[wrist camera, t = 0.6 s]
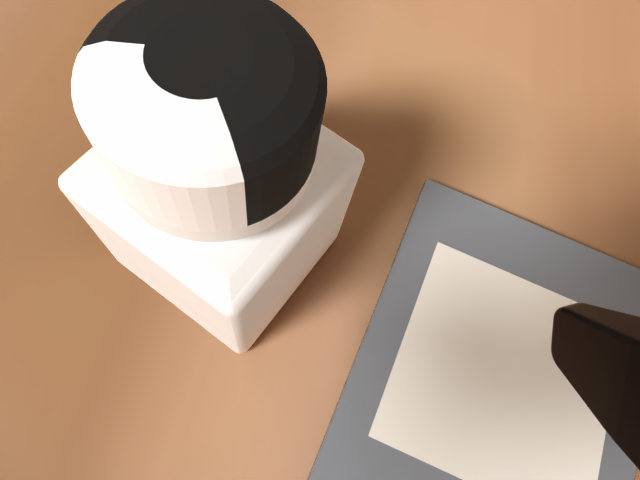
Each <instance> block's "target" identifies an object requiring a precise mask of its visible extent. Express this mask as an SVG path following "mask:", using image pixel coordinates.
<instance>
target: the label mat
mask: <svg viewBox="0 0 640 480" xmlns="http://www.w3.org/2000/svg"><path fill="white" fill-rule="evenodd" d="M574 303H586V304H591V305H595V306H599V307H603V308H607V309H611V310H615V311H619V312H623V313H627V314H631V315H635V316H639V317H640V269H639V268H636V267H634V266H632V265H629V264H627V263H625V262H622V261H620V260H618V259H615V258H613V257H611V256H608V255H606V254H604V253H601V252H599V251H596V250H594V249H592V248H589V247H587V246H585V245H582V244H580V243H578V242H575V241H573V240H571V239H568V238H566V237H564V236H561V235H559V234H557V233H554V232H552V231H550V230H547V229H545V228H543V227H540V226H538V225H535V224H533V223H531V222H528V221H526V220H524V219H521V218H519V217H517V216H514V215H512V214H510V213H507V212H505V211H503V210H500V209H498V208H496V207H493V206H491V205H489V204H486V203H484V202H482V201H479V200H477V199H474V198H472V197H470V196H467V195H465V194H463V193H460V192H458V191H456V190H453V189H451V188H449V187H446V186H444V185H442V184H439V183H437V182H435V181H432V180H430V179H428V178H427V180H426V181H425V183H424V185H423V187H422V190H421V192H420V195H419V197H418V200H417V203H416V205H415V208H414V210H413V213H412V215H411V218H410V220H409V223H408V225H407V228H406V231H405V233H404V236H403V238H402V241H401V243H400V246H399V248H398V251H397V253H396V256H395V258H394V261H393V264H392V266H391V269H390V271H389V274H388V276H387V279H386V281H385V284H384V286H383V289H382V292H381V294H380V297H379V299H378V302H377V304H376V307H375V309H374V312H373V314H372V317H371V320H370V322H369V325H368V327H367V330H366V332H365V335H364V337H363V340H362V342H361V345H360V347H359V350H358V353H357V355H356V358H355V360H354V363H353V365H352V368H351V370H350V373H349V375H348V378H347V381H346V383H345V386H344V388H343V391H342V393H341V396H340V398H339V401H338V403H337V406H336V408H335V411H334V414H333V416H332V419H331V421H330V424H329V426H328V429H327V431H326V434H325V436H324V439H323V442H322V444H321V447H320V449H319V452H318V454H317V457H316V459H315V462H314V464H313V467H312V469H311V472H310V475H309V477H308V480H635V473H636V466H635V465H634V464H633V462H632V461H631V460H630V459H629V458H628V457H627V456H626V455H625V453H624V452H623V451H622V450H621V449H620V448H619V446H618V445H617V444H616V443H615V442H614V441H613V439H612V438H611V437H610V435H609V434H608V433H607V432H606V430H605V429H604V428H603V427H602V425H601V424H600V423H599V421H598V420H597V419H596V417H595V416H594V415H593V413H592V412H591V411H590V409H589V408H588V407H587V405H586V404H585V403H584V401H583V400H582V399H581V397H580V396H579V395H578V393H577V392H576V391H575V389H574V388H573V387H572V385H571V384H570V383H569V381H568V380H567V379H566V377H565V376H564V375H563V373H562V372H561V371H560V369H559V368H558V367H557V365H556V363H555V362H554V360H553V357H552V354H551V340H552V328H553V317H554V313H555V312H556V310H557V309H558V308H560V307H563V306H567V305H571V304H574Z"/></svg>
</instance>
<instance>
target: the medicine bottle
mask: <svg viewBox="0 0 640 480" xmlns="http://www.w3.org/2000/svg"><path fill="white" fill-rule="evenodd" d="M71 93H72V101H73V105H74V110H75V113H76V115H77V118H78V120H79V122H80V125H81V127H82V129H83V130H84V132H85V134H86V135H87V137H88V139H89V141H90V142H91V144H92V146H93V147H92V148H91V149H90V150H89V151H87V152H86V153H85V154H84V155H83V156H82V157H81V158H79V159H78V160H77V161H76V162H75V163H74V164H73V165H71V166H70V167H69V168H68V169H67V170H66V171H65V172H64V173H62V174H61V176H60V177H59V179H58V185H59V188H60V189H61V191H62V192H63V193H64V195H65V196H66V197H67V198H68V200H69V201H70V202H71V203H72V205H73V206H74V207H75V208H76V210H77V211H78V212H79V213H80V214H81V216H82V217H83V218H84V219H85V221H86V222H87V223H88V224H89V226H90V227H91V228H92V229H93V231H94V232H95V233H96V234H97V236H98V237H99V238H100V239H101V241H102V242H103V243H104V244H105V246H106V247H107V248H108V249H109V251H110V252H111V253H112V254H113V255H114V257H115V258H116V259H117V260H118V261H119V262H120V263H121V264H122V265H124V266H125V267H126V268H128V269H129V270H130V271H131V272H133V273H134V274H135V275H137V276H138V277H139V278H140V279H142V280H143V281H144V282H146V283H147V284H148V285H149V286H151V287H152V288H153V289H155V290H156V291H157V292H158V293H160V294H161V295H162V296H164V297H165V298H166V299H167V300H169V301H170V302H171V303H173V304H174V305H175V306H176V307H178V308H179V309H180V310H182V311H183V312H184V313H185V314H187V315H188V316H189V317H191V318H192V319H193V320H194V321H196V322H197V323H198V324H200V325H201V326H202V327H204V328H205V329H206V330H207V331H209V332H210V333H211V334H213V335H214V336H215V337H216V338H218V339H219V340H220V341H222V342H223V343H224V344H225V345H227V346H228V347H229V348H231V349H232V350H233V351H234V352H236V353H239V354H242V353H245V352H246V351H248V350H249V348H250V347H251V346H252V345H253V343H254V342H255V341H256V340H257V338H258V337H259V336H260V334H261V333H262V332H263V331H264V329H265V328H266V327H267V326H268V324H269V323H270V322H271V320H272V319H273V318H274V317H275V315H276V314H277V313H278V312H279V310H280V309H281V308H282V306H283V305H284V304H285V303H286V301H287V300H288V299H289V298H290V296H291V295H292V294H293V292H294V291H295V290H296V289H297V287H298V286H299V285H300V284H301V282H302V281H303V280H304V278H305V277H306V276H307V275H308V273H309V272H310V271H311V270H312V268H313V267H314V266H315V264H316V263H317V262H318V261H319V259H320V258H321V257H322V256H323V254H324V253H325V252H326V250H327V249H328V248H329V247H330V245H331V244H332V243H333V242H334V240H335V239H336V238H337V236H338V233H339V231H340V228H341V225H342V222H343V220H344V217H345V214H346V211H347V208H348V206H349V203H350V200H351V197H352V195H353V192H354V189H355V186H356V184H357V181H358V178H359V175H360V173H361V170H362V167H363V164H364V162H365V159H364V154H363V152H362V151H361V150H360V149H358V148H357V147H355V146H354V145H352V144H351V143H349V142H348V141H346V140H345V139H343V138H342V137H340V136H339V135H337V134H336V133H334V132H333V131H331V130H330V129H328V128H327V127H325V126H324V125H322V119H323V114H324V109H325V103H326V97H327V76H326V70H325V65H324V62H323V60H322V57H321V54H320V52H319V50H318V48H317V46H316V44H315V42H314V41H313V39H312V38H311V37H310V35H309V34H308V33H307V31H306V30H305V29H304V28H303V27H302V26H301V25H300V24H299V23H298V22H297V21H296V20H295V19H294V18H293V17H292V16H291V15H290V14H289V13H287V12H286V11H285V10H283V9H282V8H281V7H280V6H278V5H277V4H275V3H273V2H272V1H270V0H126V1H124V2H122V3H121V4H119V5H118V6H117V7H115V8H114V9H113V10H111V11H110V12H109V13H108V14H107V15H106V16H105V17H104V18H103V19H102V20H101V21H100V22H99V23H98V24H97V25H96V26H95V28H94V29H93V30H92V32H91V33H90V34H89V36H88V37H87V38H86V40H85V41H84V43H83V45H82V47H81V49H80V51H79V53H78V55H77V58H76V61H75V64H74V67H73V72H72V79H71Z"/></svg>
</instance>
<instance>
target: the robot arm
mask: <svg viewBox="0 0 640 480" xmlns="http://www.w3.org/2000/svg"><path fill="white" fill-rule="evenodd" d="M551 354H552V357H553V360H554V362H555V363H556V365H557V367H558V368H559V369H560V371H561V372H562V373H563V375H564V376H565V377H566V379H567V380H568V381H569V383H570V384H571V385H572V387H573V388H574V389H575V391H576V392H577V393H578V395H579V396H580V397H581V399H582V400H583V401H584V403H585V404H586V405H587V407H588V408H589V409H590V411H591V412H592V413H593V415H594V416H595V417H596V419H597V420H598V421H599V423H600V424H601V425H602V427H603V428H604V429H605V430H606V432H607V433H608V434H609V435H610V437H611V438H612V439H613V441H614V442H615V443H616V444H617V445H618V446H619V448H620V449H621V450H622V451H623V452H624V453H625V455H626V456H627V457H628V458H629V459H630V460H631V461H632V462H633V464H634V465H635V466H636V467H637V468H638V469H639V470H640V317H639V316H635V315H631V314H627V313H623V312H619V311H615V310H611V309H607V308H603V307H599V306H595V305H591V304H586V303H574V304H571V305H567V306H563V307H560V308H558V309H557V310H556V312H555V313H554V317H553V328H552V340H551Z"/></svg>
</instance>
